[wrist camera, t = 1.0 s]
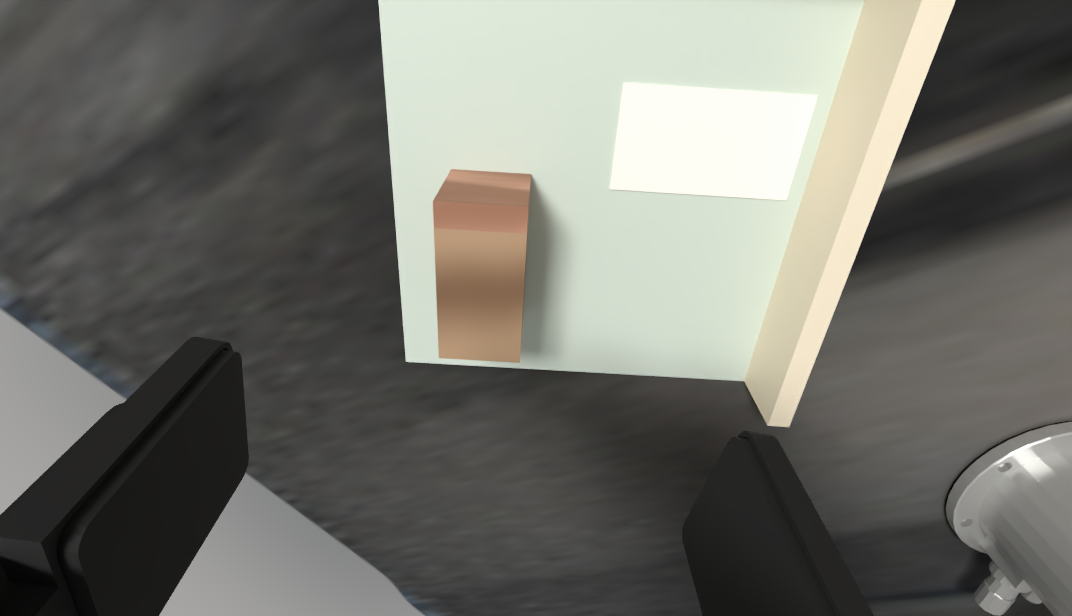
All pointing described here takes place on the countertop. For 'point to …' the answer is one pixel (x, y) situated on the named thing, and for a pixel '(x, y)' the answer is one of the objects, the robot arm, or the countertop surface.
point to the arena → (658, 169)
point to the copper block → (481, 264)
